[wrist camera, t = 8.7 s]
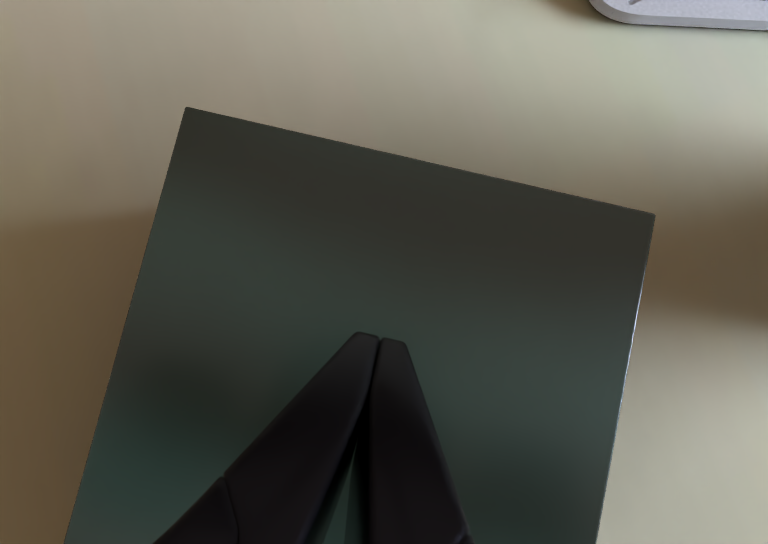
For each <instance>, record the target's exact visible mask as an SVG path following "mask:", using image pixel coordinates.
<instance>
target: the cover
mask: <svg viewBox="0 0 768 544" xmlns="http://www.w3.org/2000/svg"><path fill="white" fill-rule="evenodd" d="M654 221H655V214H653V213H648V212H644V211H640V210H635V209H631V208H627V207H622V206H618V205H613V204H609V203H605V202H600V201H596V200H592V199H587V198H583V197H579V196H574V195H570V194H565V193H561V192H557V191H552V190H548V189H544V188H539V187H535V186H531V185H526V184H522V183H517V182H513V181H509V180H504V179H500V178H496V177H491V176H487V175H482V174H478V173H474V172H469V171H465V170H461V169H456V168H452V167H448V166H443V165H439V164H434V163H430V162H426V161H421V160H417V159H413V158H408V157H404V156H400V155H395V154H391V153H386V152H382V151H378V150H373V149H369V148H365V147H360V146H356V145H352V144H347V143H343V142H338V141H334V140H330V139H325V138H321V137H317V136H312V135H308V134H304V133H299V132H295V131H290V130H286V129H282V128H277V127H273V126H269V125H264V124H260V123H255V122H251V121H247V120H242V119H238V118H234V117H229V116H225V115H221V114H216V113H212V112H207V111H203V110H199V109H194V108H190V107H186V108H185V111H184V114H183V118H182V121H181V125H180V129H179V132H178V136H177V139H176V143H175V146H174V150H173V154H172V157H171V161H170V164H169V168H168V171H167V175H166V179H165V182H164V186H163V189H162V193H161V197H160V200H159V204H158V207H157V211H156V214H155V218H154V222H153V225H152V229H151V232H150V236H149V240H148V243H147V247H146V250H145V254H144V257H143V261H142V265H141V268H140V272H139V275H138V279H137V283H136V286H135V290H134V293H133V297H132V300H131V304H130V308H129V311H128V315H127V318H126V322H125V326H124V329H123V333H122V336H121V340H120V343H119V347H118V351H117V354H116V358H115V361H114V365H113V368H112V372H111V376H110V379H109V383H108V386H107V390H106V394H105V397H104V401H103V404H102V408H101V411H100V415H99V419H98V422H97V426H96V429H95V433H94V437H93V440H92V444H91V447H90V451H89V454H88V458H87V462H86V465H85V469H84V472H83V476H82V480H81V483H80V487H79V490H78V494H77V497H76V501H75V505H74V508H73V512H72V515H71V519H70V523H69V526H68V530H67V533H66V537H65V540H64V544H152V543H153V542H154V541H156V540H157V539H158V538H159V537H160V536H161V535H162V534H163V533H164V532H165V531H167V530H168V529H169V528H170V527H171V526H172V525H173V524H174V523H175V522H176V521H177V520H178V519H179V518H180V517H181V516H182V515H183V514H184V513H185V512H186V511H187V510H188V509H189V508H190V507H191V506H192V505H193V504H194V503H195V502H196V501H197V500H198V499H199V498H200V497H201V496H202V495H203V494H204V492H205V491H206V490H207V489H208V488H209V487H210V486H211V485H212V484H213V483H214V482H215V481H216V480H217V479H218V478H219V477H220V476H222V477H223V473H224V471H225V470H226V469H227V468H228V467H229V466H230V465H231V464H232V463H233V462H234V461H235V460H236V459H237V458H238V457H239V455H240V454H241V453H242V452H243V451H244V450H245V449H246V448H247V447H248V446H249V445H250V444H251V443H252V442H253V440H254V439H255V438H256V437H257V436H258V435H259V434H260V433H261V432H262V431H263V430H264V429H265V428H266V427H267V426H268V424H269V423H270V422H271V421H272V420H273V419H274V418H275V417H276V416H277V415H278V414H279V413H280V412H281V411H282V409H283V408H284V407H285V406H286V405H287V404H288V403H289V402H290V401H291V400H292V399H293V398H294V397H295V396H296V394H297V393H298V392H299V391H300V390H301V389H302V388H303V387H304V386H305V385H306V384H307V383H308V382H309V381H310V380H311V378H312V377H313V376H314V375H315V374H316V373H317V372H318V371H319V370H320V369H321V368H322V367H323V366H324V365H325V363H326V362H327V361H328V360H329V359H330V358H331V357H332V356H333V355H334V354H335V353H336V352H337V351H338V350H339V349H340V347H341V346H342V345H343V344H344V343H345V342H346V341H347V340H348V339H349V338H350V337H351V336H352V335H353V334H354V333H355V332H358V331H360V332H365V333H369V334H373V335H377V336H378V337H379V338H380V340H381V339H382V338H383V337H386V338H391V339H395V340H399V341H403V342H404V343H406V345H407V347H408V350H409V353H410V356H411V359H412V362H413V365H414V368H415V371H416V374H417V377H418V380H419V383H420V385H421V388H422V391H423V394H424V397H425V400H426V403H427V406H428V409H429V412H430V415H431V418H432V420H433V423H434V426H435V429H436V432H437V435H438V438H439V441H440V444H441V447H442V450H443V453H444V455H445V458H446V461H447V464H448V467H449V470H450V473H451V476H452V479H453V482H454V485H455V488H456V491H457V493H458V496H459V499H460V502H461V505H462V508H463V511H464V514H465V517H466V520H467V523H468V526H469V528H470V532H469V534H470V535H472V537H473V539H474V542H475V544H596V541H597V536H598V530H599V525H600V519H601V514H602V508H603V503H604V497H605V492H606V486H607V480H608V475H609V469H610V464H611V458H612V453H613V447H614V442H615V436H616V431H617V425H618V420H619V414H620V409H621V403H622V398H623V392H624V387H625V381H626V375H627V370H628V364H629V359H630V353H631V348H632V342H633V337H634V331H635V326H636V320H637V315H638V309H639V304H640V298H641V293H642V287H643V282H644V276H645V270H646V265H647V259H648V254H649V248H650V243H651V237H652V232H653V226H654ZM379 343H380V342H379ZM355 448H356V447H355ZM354 452H355V451H354ZM353 458H354V455H353ZM352 463H353V459H352ZM352 463H351V466H350V469H349V473H348V476H347V479H346V482H345V484H344V487H343V490H342V493H341V496H340V498H339V501H338V504H337V507H336V510H335V512H334V515H333V518H332V521H331V524H330V526H329V529H328V532H327V535H326V538H325V540H324V543H323V544H344V538H345V527H346V517H347V507H348V496H349V486H350V477H351V469H352Z"/></svg>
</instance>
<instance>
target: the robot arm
mask: <svg viewBox="0 0 768 544" xmlns="http://www.w3.org/2000/svg"><path fill="white" fill-rule="evenodd" d="M379 342H380V343H379ZM355 447H356V448H355ZM354 451H355V452H354ZM353 455H354V458H353ZM352 459H353V463H352ZM351 463H352V469H351V477H350V486H349V496H348V507H347V517H346V527H345V538H344V544H475V542H474V539H473V537H472V535H470V534H469V532H470V528H469V526H468V523H467V520H466V517H465V514H464V511H463V508H462V505H461V502H460V499H459V496H458V493H457V491H456V488H455V485H454V482H453V479H452V476H451V473H450V470H449V467H448V464H447V461H446V458H445V455H444V453H443V450H442V447H441V444H440V441H439V438H438V435H437V432H436V429H435V426H434V423H433V420H432V418H431V415H430V412H429V409H428V406H427V403H426V400H425V397H424V394H423V391H422V388H421V385H420V383H419V380H418V377H417V374H416V371H415V368H414V365H413V362H412V359H411V356H410V353H409V350H408V347H407V345H406V343H404V342H403V341H399V340H395V339H391V338H386V337H383V338H382V339H381V340H380V338H379V337H378V336H377V335H373V334H369V333H365V332H360V331H358V332H355V333H354V334H353V335H352V336H351V337H350V338H349V339H348V340H347V341H346V342H345V343H344V344H343V345H342V346H341V347H340V349H339V350H338V351H337V352H336V353H335V354H334V355H333V356H332V357H331V358H330V359H329V360H328V361H327V362H326V363H325V365H324V366H323V367H322V368H321V369H320V370H319V371H318V372H317V373H316V374H315V375H314V376H313V377H312V378H311V380H310V381H309V382H308V383H307V384H306V385H305V386H304V387H303V388H302V389H301V390H300V391H299V392H298V393H297V394H296V396H295V397H294V398H293V399H292V400H291V401H290V402H289V403H288V404H287V405H286V406H285V407H284V408H283V409H282V411H281V412H280V413H279V414H278V415H277V416H276V417H275V418H274V419H273V420H272V421H271V422H270V423H269V424H268V426H267V427H266V428H265V429H264V430H263V431H262V432H261V433H260V434H259V435H258V436H257V437H256V438H255V439H254V440H253V442H252V443H251V444H250V445H249V446H248V447H247V448H246V449H245V450H244V451H243V452H242V453H241V454H240V455H239V457H238V458H237V459H236V460H235V461H234V462H233V463H232V464H231V465H230V466H229V467H228V468H227V469H226V470H225V471H224V473H223V477H222V476H220V477H219V478H218V479H217V480H216V481H215V482H214V483H213V484H212V485H211V486H210V487H209V488H208V489H207V490H206V491H205V492H204V494H203V495H202V496H201V497H200V498H199V499H198V500H197V501H196V502H195V503H194V504H193V505H192V506H191V507H190V508H189V509H188V510H187V511H186V512H185V513H184V514H183V515H182V516H181V517H180V518H179V519H178V520H177V521H176V522H175V523H174V524H173V525H172V526H171V527H170V528H169V529H168V530H167V531H165V532H164V533H163V534H162V535H161V536H160V537H159V538H158V539H157V540H156V541H154V542H153V543H152V544H323V543H324V540H325V538H326V535H327V532H328V529H329V526H330V524H331V521H332V518H333V515H334V512H335V510H336V507H337V504H338V501H339V498H340V496H341V493H342V490H343V487H344V484H345V482H346V479H347V476H348V473H349V469H350V466H351Z"/></svg>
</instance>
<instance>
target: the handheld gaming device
mask: <svg viewBox="0 0 768 544" xmlns="http://www.w3.org/2000/svg"><path fill="white" fill-rule="evenodd" d="M589 1H590V3H591V4H592V6H593V7H594V8H595V9H596V10H597V11H599V12H600V13H601V14H603V15H604V16H606V17H608V18H611V19H613V20H616V21H620V22H624V23H631V24H646V25H667V26H688V27H709V28H730V29H751V30H768V0H589Z"/></svg>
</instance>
